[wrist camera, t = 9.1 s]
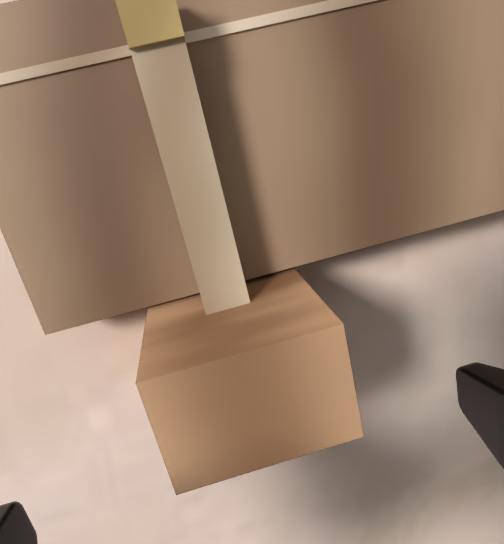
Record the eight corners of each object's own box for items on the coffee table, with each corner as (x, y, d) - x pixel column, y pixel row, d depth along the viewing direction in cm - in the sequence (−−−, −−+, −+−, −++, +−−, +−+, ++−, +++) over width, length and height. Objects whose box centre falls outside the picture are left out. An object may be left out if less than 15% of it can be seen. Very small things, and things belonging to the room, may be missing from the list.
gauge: (227, 4, 13) (268, -101, 7) (297, 330, 16) (363, 436, 10) (69, 38, 12) (-20, -43, 7) (175, 365, 16) (176, 495, 10)
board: (683, -116, 14) (767, -158, 12) (664, 147, 16) (731, 148, 14) (-46, 40, 12) (-89, 21, 10) (62, 308, 14) (44, 335, 13)
